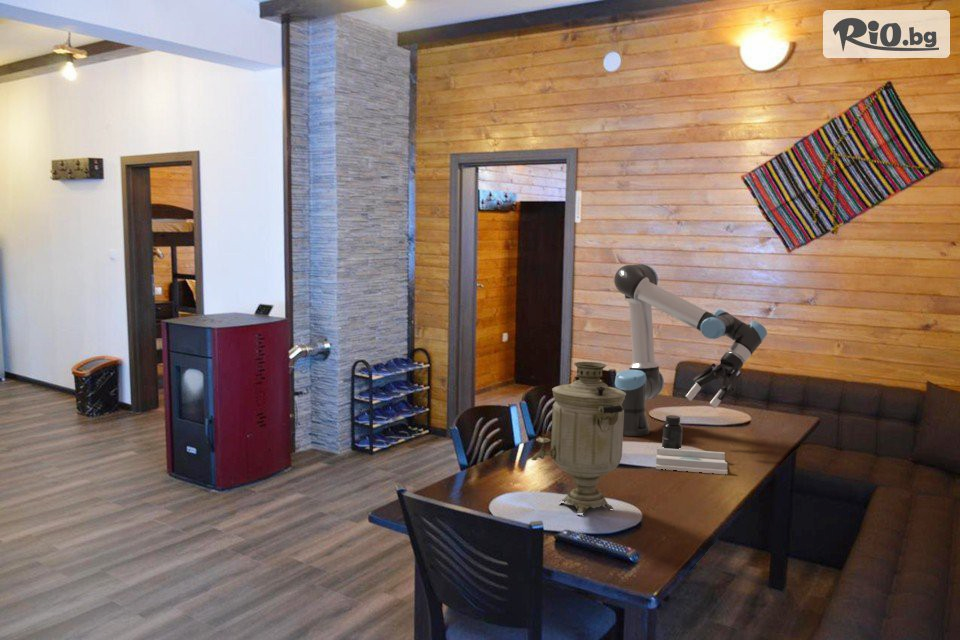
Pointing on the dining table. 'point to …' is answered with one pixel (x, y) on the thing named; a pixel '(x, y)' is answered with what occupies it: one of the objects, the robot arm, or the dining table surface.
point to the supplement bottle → (672, 433)
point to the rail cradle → (691, 461)
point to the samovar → (586, 433)
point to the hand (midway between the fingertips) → (699, 402)
